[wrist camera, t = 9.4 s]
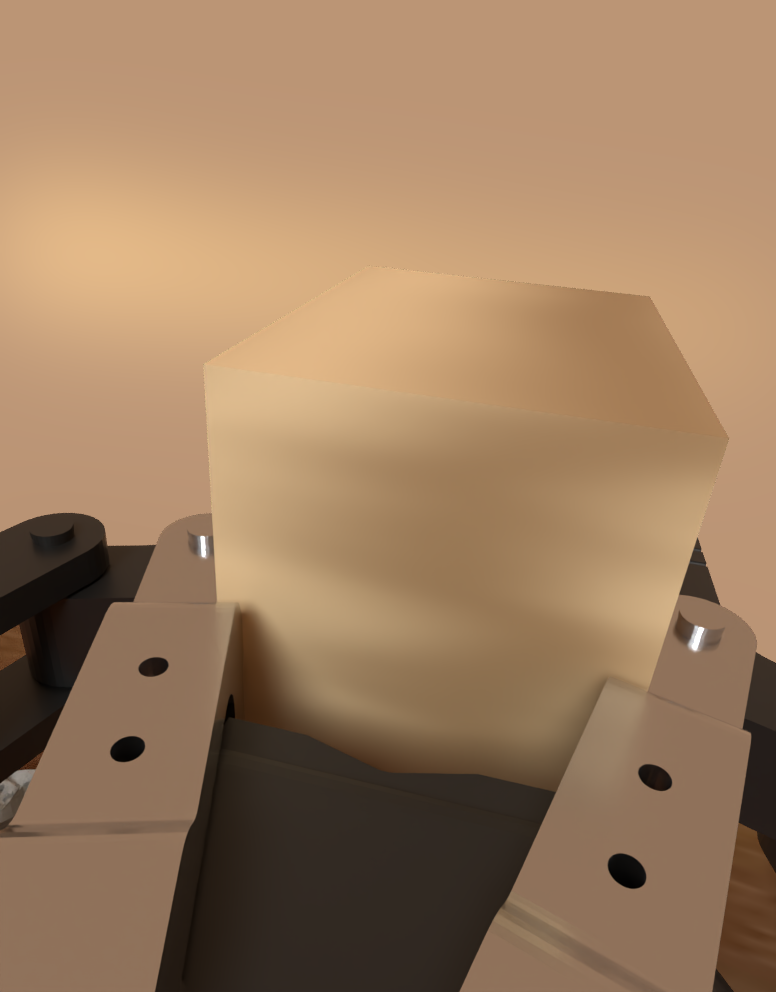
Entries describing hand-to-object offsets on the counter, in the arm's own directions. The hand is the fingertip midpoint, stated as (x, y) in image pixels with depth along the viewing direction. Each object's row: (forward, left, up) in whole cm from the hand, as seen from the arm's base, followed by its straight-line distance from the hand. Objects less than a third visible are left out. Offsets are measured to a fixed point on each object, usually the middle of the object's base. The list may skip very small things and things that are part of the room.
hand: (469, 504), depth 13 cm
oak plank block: (0, -3, -6) cm, 7 cm away
